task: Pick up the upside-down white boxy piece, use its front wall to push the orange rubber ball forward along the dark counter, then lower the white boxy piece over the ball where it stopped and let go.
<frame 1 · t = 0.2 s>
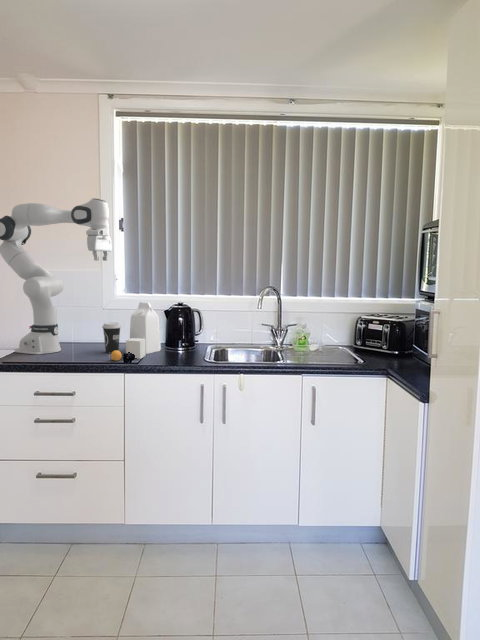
hand: (100, 260, 228), 47 cm above the counter, tool pointing down, fingers open, 8 cm apart
coffee cup: (112, 351, 241), on the counter
white boxy piece: (135, 356, 228), on the counter
ball: (116, 355, 219), on the counter
milk: (145, 351, 244), on the counter
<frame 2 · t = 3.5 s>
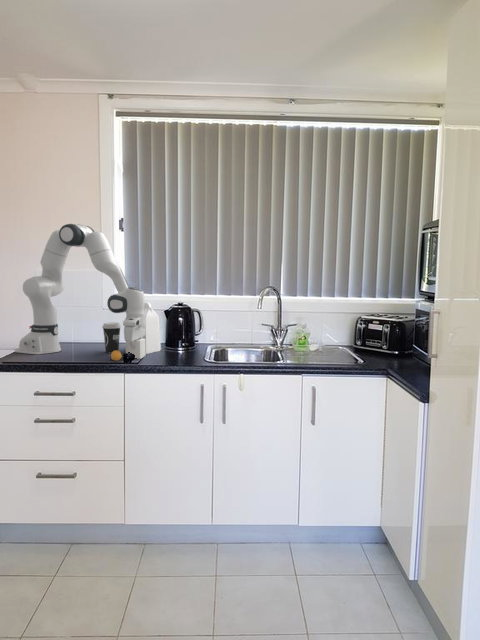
hand: (135, 347, 228), 5 cm above the counter, tool pointing down, fingers closed on white boxy piece, 7 cm apart
white boxy piece: (135, 356, 228), on the counter, touching gripper
everything else where it was.
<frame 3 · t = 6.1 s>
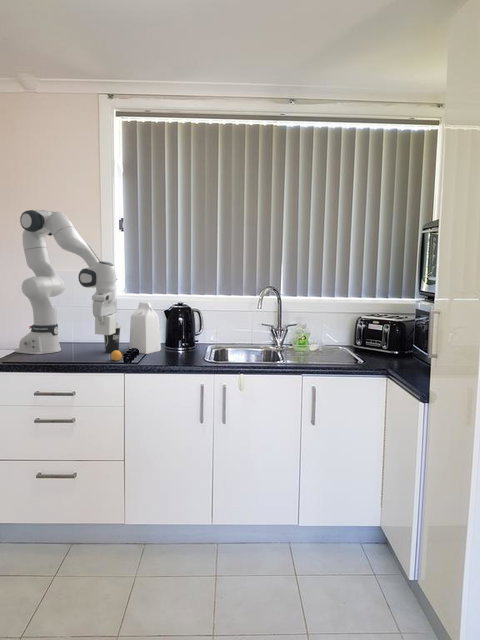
hand: (105, 324, 222), 17 cm above the counter, tool pointing down, fingers closed on white boxy piece, 7 cm apart
white boxy piece: (105, 333, 223), point 12 cm above the counter, touching gripper
everything else where it was.
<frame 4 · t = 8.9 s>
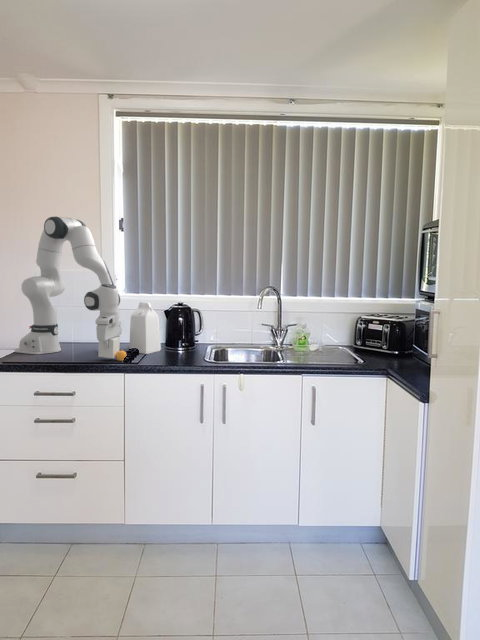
hand: (110, 347, 219), 6 cm above the counter, tool pointing down, fingers closed on white boxy piece, 7 cm apart
white boxy piece: (108, 355, 220), point 2 cm above the counter, touching gripper
ball: (121, 355, 219), on the counter
everything else where it was.
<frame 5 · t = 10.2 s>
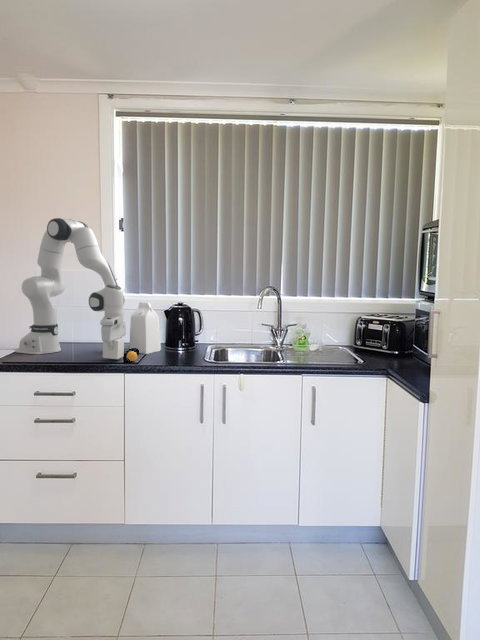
hand: (114, 348, 219), 6 cm above the counter, tool pointing down, fingers closed on white boxy piece, 7 cm apart
white boxy piece: (113, 356, 219), point 2 cm above the counter, touching gripper
ball: (131, 356, 218), on the counter
everything else where it was.
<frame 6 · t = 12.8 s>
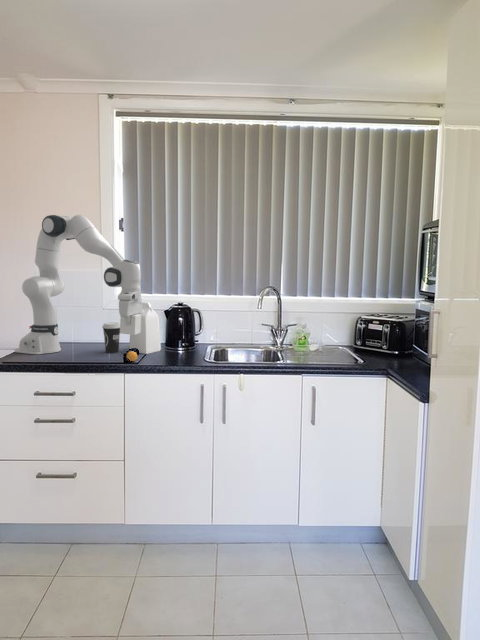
hand: (131, 324, 216), 18 cm above the counter, tool pointing down, fingers closed on white boxy piece, 7 cm apart
white boxy piece: (130, 332, 217), point 14 cm above the counter, touching gripper
everything else where it was.
when the fingers open (5 cm above the counter, at t = 16.4 s): white boxy piece stays where it is, on the counter.
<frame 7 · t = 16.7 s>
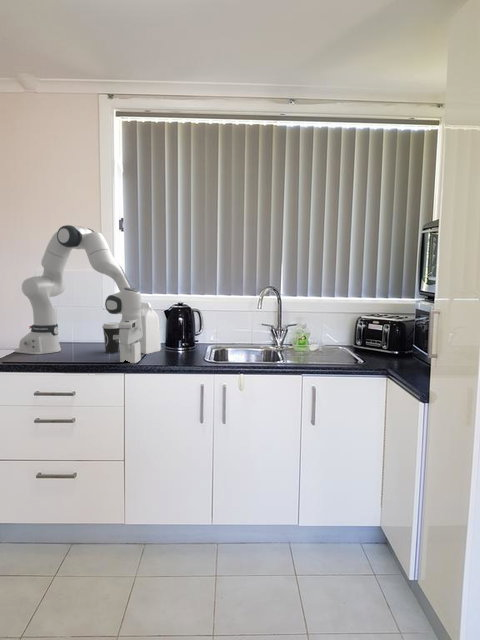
hand: (132, 351, 218), 5 cm above the counter, tool pointing down, fingers open, 8 cm apart
white boxy piece: (130, 361, 218), on the counter
ball: (129, 356, 218), on the counter
everything else where it was.
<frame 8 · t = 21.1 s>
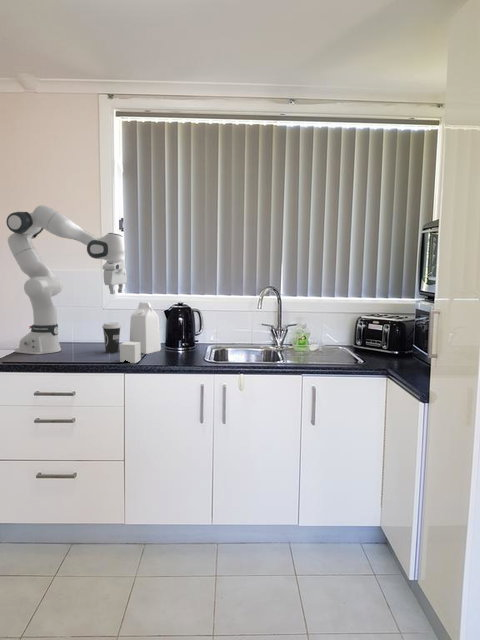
hand: (116, 293, 231), 31 cm above the counter, tool pointing down, fingers open, 8 cm apart
nothing on the counter moved.
at the end: ball 0.7 cm from the white boxy piece (horizontally); white boxy piece on the counter; ball moved 6.4 cm from its start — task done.
